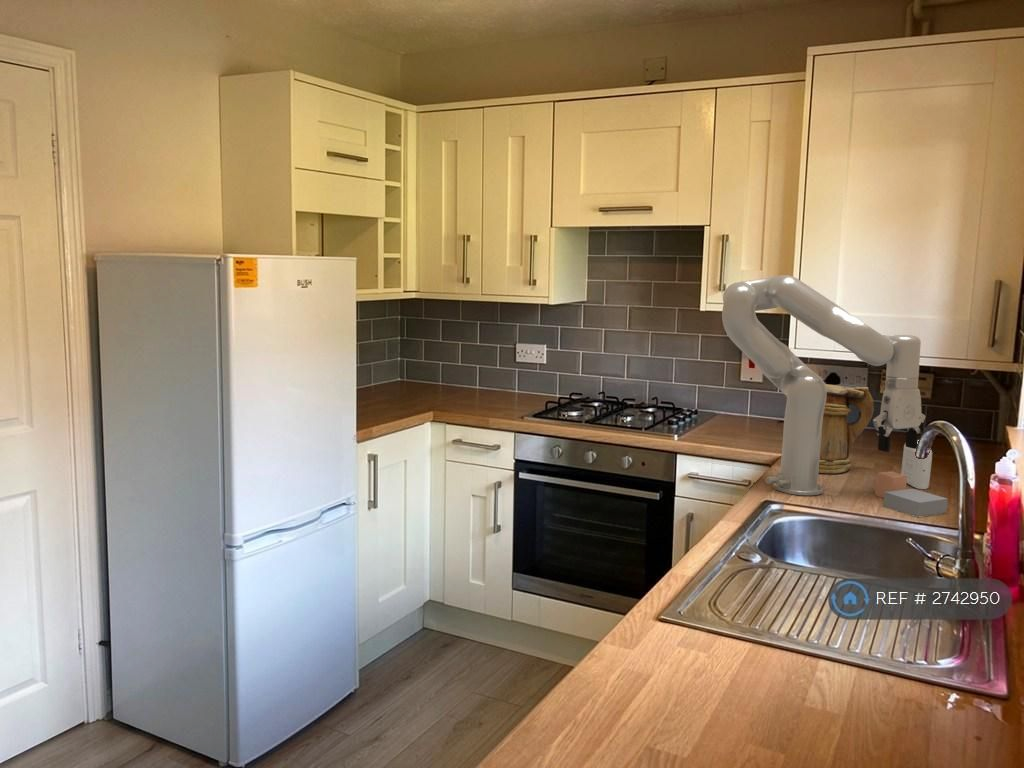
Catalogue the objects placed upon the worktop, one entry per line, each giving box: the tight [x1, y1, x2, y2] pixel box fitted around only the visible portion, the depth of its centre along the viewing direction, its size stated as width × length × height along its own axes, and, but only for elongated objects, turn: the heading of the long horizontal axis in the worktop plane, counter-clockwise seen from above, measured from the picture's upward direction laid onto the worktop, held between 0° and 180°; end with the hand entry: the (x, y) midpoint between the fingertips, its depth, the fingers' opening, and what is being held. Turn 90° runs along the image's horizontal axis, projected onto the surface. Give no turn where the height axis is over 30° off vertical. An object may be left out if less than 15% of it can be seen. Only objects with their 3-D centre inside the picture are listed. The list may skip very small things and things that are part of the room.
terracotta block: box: [874, 471, 907, 499], centre depth 220 cm, size 5×5×6 cm
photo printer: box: [900, 439, 933, 490], centre depth 232 cm, size 10×4×12 cm, turn 0°
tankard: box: [818, 383, 875, 475], centre depth 248 cm, size 18×24×25 cm
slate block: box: [882, 488, 949, 518], centre depth 208 cm, size 10×10×4 cm
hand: (897, 449), depth 218 cm, fingers open, 9 cm apart
